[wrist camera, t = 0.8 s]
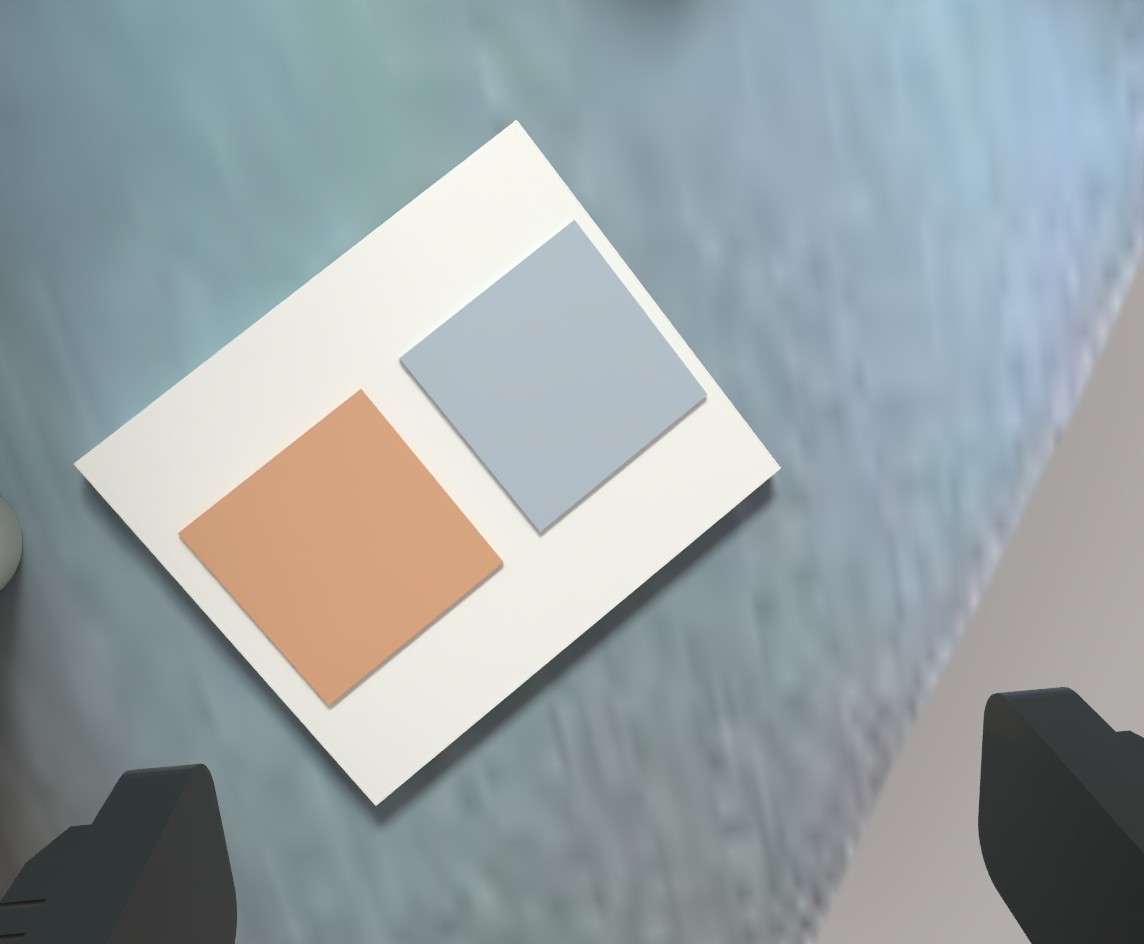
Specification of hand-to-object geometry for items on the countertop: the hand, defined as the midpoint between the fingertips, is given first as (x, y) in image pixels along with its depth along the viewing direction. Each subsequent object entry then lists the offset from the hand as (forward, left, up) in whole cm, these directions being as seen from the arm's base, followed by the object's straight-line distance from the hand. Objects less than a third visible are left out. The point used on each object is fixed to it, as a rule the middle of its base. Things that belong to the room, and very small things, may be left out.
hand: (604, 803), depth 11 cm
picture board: (-2, +1, -24) cm, 24 cm away
